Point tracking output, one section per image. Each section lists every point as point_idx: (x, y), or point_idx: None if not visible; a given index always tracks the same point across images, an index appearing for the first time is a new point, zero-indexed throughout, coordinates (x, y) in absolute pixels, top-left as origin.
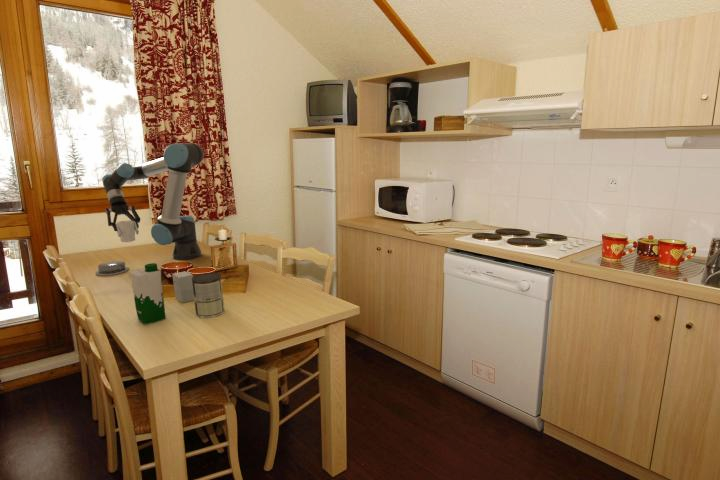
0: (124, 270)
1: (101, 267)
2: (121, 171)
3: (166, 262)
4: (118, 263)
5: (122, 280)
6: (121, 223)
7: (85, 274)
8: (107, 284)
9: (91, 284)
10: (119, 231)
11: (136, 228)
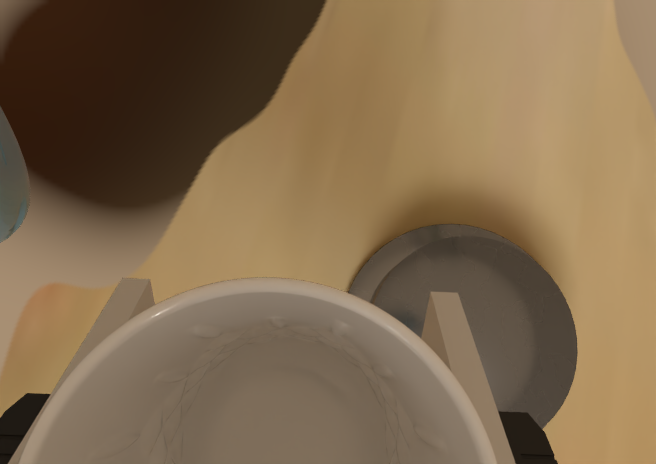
0: (388, 263)
1: (558, 287)
2: None
3: (58, 295)
4: (423, 309)
5: (453, 51)
6: (423, 349)
7: (629, 423)
8: (542, 34)
9: (620, 107)
10: (450, 327)
11: (115, 328)
